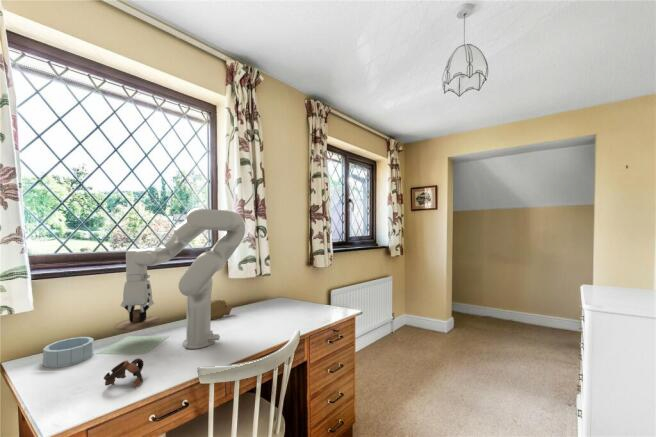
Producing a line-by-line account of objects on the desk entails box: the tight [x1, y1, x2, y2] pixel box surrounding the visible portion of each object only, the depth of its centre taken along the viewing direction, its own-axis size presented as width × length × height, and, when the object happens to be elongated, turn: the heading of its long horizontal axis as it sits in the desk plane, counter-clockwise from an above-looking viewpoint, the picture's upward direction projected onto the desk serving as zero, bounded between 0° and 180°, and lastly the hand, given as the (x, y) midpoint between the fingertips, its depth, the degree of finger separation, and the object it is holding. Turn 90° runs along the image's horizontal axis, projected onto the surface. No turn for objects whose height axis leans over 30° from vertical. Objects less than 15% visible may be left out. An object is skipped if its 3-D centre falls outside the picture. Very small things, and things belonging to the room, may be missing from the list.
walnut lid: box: [114, 308, 160, 331], centre depth 127 cm, size 16×16×6 cm
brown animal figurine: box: [103, 357, 145, 388], centre depth 96 cm, size 12×10×8 cm
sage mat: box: [95, 335, 170, 355], centre depth 127 cm, size 19×19×1 cm
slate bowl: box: [42, 336, 95, 369], centre depth 113 cm, size 14×14×6 cm
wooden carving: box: [211, 299, 233, 320], centre depth 165 cm, size 16×5×10 cm, turn 133°
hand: (137, 320), depth 127 cm, fingers closed on walnut lid, 3 cm apart
